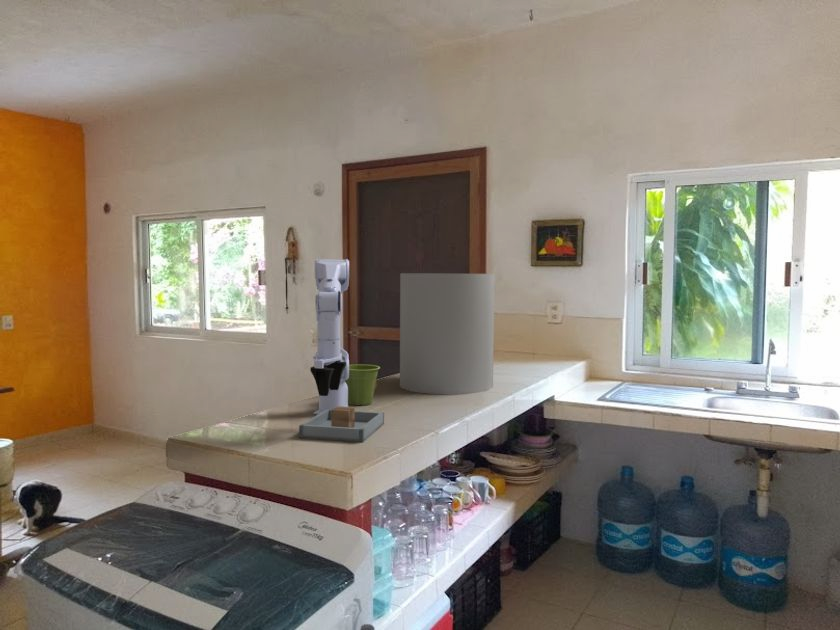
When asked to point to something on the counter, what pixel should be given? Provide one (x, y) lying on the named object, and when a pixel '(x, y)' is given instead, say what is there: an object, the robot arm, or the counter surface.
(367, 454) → the counter surface
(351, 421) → the block
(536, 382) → the counter surface
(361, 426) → the bin
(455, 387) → the cylinder container
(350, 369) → the plant pot
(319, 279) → the robot arm
